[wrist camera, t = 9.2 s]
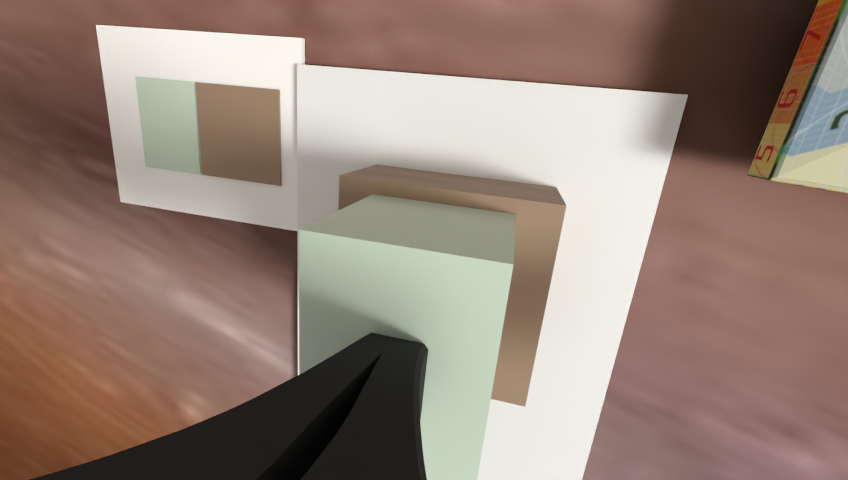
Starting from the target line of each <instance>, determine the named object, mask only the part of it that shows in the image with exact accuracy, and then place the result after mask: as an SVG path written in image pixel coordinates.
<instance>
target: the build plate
mask: <svg viewBox="0 0 848 480" xmlns="http://www.w3.org/2000/svg"><path fill="white" fill-rule="evenodd" d="M687 97H688V95H685V94H672V93H659V92H646V91H634V90H621V89H608V88H595V87H583V86H570V85H557V84H544V83H531V82H519V81H506V80H493V79H480V78H467V77H455V76H442V75H429V74H416V73H404V72H391V71H378V70H365V69H352V68H340V67H327V66H314V65H301V64H297V249H298V375H299V229H301V228H303V227H305V226H308V225H310V224H312V223H314V222H316V221H318V220H320V219H322V218H324V217H326V216H328V215H330V214H333V213H335V212H337V211H338V206H339V175H342V174H345V173H349V172H352V171H356V170H359V169H363V168H366V167H370V166H373V165H384V166H392V167H400V168H408V169H415V170H423V171H431V172H439V173H447V174H455V175H463V176H471V177H479V178H487V179H495V180H503V181H511V182H519V183H527V184H535V185H543V186H551V187H556V188H557V189H558V191H559V193H560V195H561V196H562V198H563V200H564V202H565V204H566V205H567V206H566V211H565V215H564V220H563V225H562V230H561V235H560V240H559V245H558V249H557V254H556V259H555V264H554V269H553V274H552V279H551V284H550V288H549V293H548V298H547V303H546V308H545V313H544V318H543V323H542V327H541V332H540V337H539V342H538V347H537V352H536V357H535V361H534V366H533V371H532V376H531V381H530V386H529V391H528V396H527V400H526V405H525V407H524V406H520V405H515V404H511V403H507V402H502V401H498V400H494V399H491V401H490V406H489V412H488V418H487V424H486V430H485V436H484V442H483V448H482V453H481V459H480V465H479V471H478V477H477V480H582V478H583V474H584V470H585V467H586V463H587V460H588V456H589V452H590V449H591V445H592V441H593V438H594V434H595V431H596V427H597V423H598V420H599V416H600V412H601V409H602V405H603V402H604V398H605V394H606V391H607V387H608V383H609V380H610V376H611V373H612V369H613V365H614V362H615V358H616V354H617V351H618V347H619V343H620V340H621V336H622V333H623V329H624V325H625V322H626V318H627V314H628V311H629V307H630V304H631V300H632V296H633V293H634V289H635V285H636V282H637V278H638V275H639V271H640V267H641V264H642V260H643V256H644V253H645V249H646V246H647V242H648V238H649V235H650V231H651V227H652V224H653V220H654V217H655V213H656V209H657V206H658V202H659V198H660V195H661V191H662V188H663V184H664V180H665V177H666V173H667V169H668V166H669V162H670V159H671V155H672V151H673V148H674V144H675V140H676V137H677V133H678V129H679V126H680V122H681V119H682V115H683V111H684V108H685V104H686V100H687Z"/></svg>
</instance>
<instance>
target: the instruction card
mask: <svg viewBox="0 0 848 480" xmlns="http://www.w3.org/2000/svg"><path fill="white" fill-rule="evenodd" d="M96 30H97V37H98V44H99V51H100V59H101V66H102V73H103V80H104V87H105V95H106V102H107V109H108V116H109V123H110V130H111V138H112V145H113V152H114V159H115V166H116V174H117V181H118V188H119V195H120V202H123V203H130V204H136V205H142V206H148V207H154V208H160V209H166V210H172V211H178V212H184V213H190V214H196V215H202V216H208V217H214V218H220V219H226V220H232V221H238V222H244V223H250V224H256V225H262V226H268V227H274V228H280V229H286V230H292V231H297V64H301V65H305V39H303V38H293V37H277V36H262V35H246V34H231V33H215V32H200V31H184V30H168V29H153V28H137V27H122V26H106V25H96Z"/></svg>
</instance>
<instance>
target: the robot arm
mask: <svg viewBox="0 0 848 480" xmlns="http://www.w3.org/2000/svg"><path fill="white" fill-rule="evenodd" d="M427 356H428V348H427V347H426V346H425V344H423V343H419V342H414V341H409V340H405V339H400V338H395V337H390V336H386V335H381V334H376V333H369V334H368V335H366V336H364V337H362V338H361V339H359V340H357V341H356V342H354V343H352V344H351V345H349V346H347V347H346V348H344V349H342V350H341V351H339V352H337V353H336V354H334V355H333V356H331V357H329V358H327V359H326V360H324V361H322V362H321V363H319V364H317V365H315V366H314V367H312V368H310V369H309V370H307V371H305V372H303V373H302V374H300V375H298V376H296V377H294V378H292V379H290V380H288V381H286V382H284V383H283V384H281V385H279V386H277V387H275V388H273V389H271V390H269V391H267V392H265V393H263V394H261V395H260V396H258V397H256V398H254V399H252V400H250V401H247V402H245V403H243V404H241V405H239V406H237V407H235V408H232V409H230V410H228V411H226V412H223V413H221V414H219V415H216V416H214V417H212V418H209V419H207V420H204V421H202V422H200V423H197V424H195V425H192V426H190V427H187V428H185V429H182V430H180V431H177V432H174V433H171V434H169V435H166V436H163V437H160V438H157V439H155V440H152V441H149V442H146V443H143V444H141V445H138V446H135V447H132V448H129V449H127V450H124V451H121V452H118V453H115V454H113V455H110V456H107V457H103V458H100V459H97V460H94V461H91V462H88V463H84V464H81V465H78V466H75V467H71V468H68V469H65V470H62V471H58V472H55V473H51V474H48V475H44V476H41V477H37V478H34V479H30V480H427V478H426V471H425V464H424V456H423V448H422V437H421V426H420V418H421V411H422V402H423V393H424V383H425V374H426V365H427Z"/></svg>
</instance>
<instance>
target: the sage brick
mask: <svg viewBox="0 0 848 480" xmlns="http://www.w3.org/2000/svg"><path fill="white" fill-rule="evenodd" d="M515 227H516V214H511V213H504V212H497V211H489V210H482V209H475V208H468V207H460V206H453V205H446V204H439V203H432V202H424V201H417V200H410V199H403V198H396V197H388V196H381V195H374V194H372V195H370V196H368V197H366V198H364V199H362V200H360V201H358V202H355V203H353V204H351V205H349V206H347V207H345V208H343V209H341V210H339V211H337V212H335V213H333V214H330V215H328V216H326V217H324V218H322V219H320V220H318V221H316V222H314V223H312V224H310V225H308V226H305V227H303V228H301V229H299V375H300V374H302V373H303V372H305V371H307V370H309V369H310V368H312V367H314V366H315V365H317V364H319V363H321V362H322V361H324V360H326V359H327V358H329V357H331V356H333V355H334V354H336V353H337V352H339V351H341V350H342V349H344V348H346V347H347V346H349V345H351V344H352V343H354V342H356V341H357V340H359V339H361V338H362V337H364V336H366V335H368V334H369V333H376V334H381V335H386V336H390V337H395V338H400V339H405V340H409V341H414V342H419V343H423V344H425V346H426V347H427V348H428V356H427V365H426V374H425V383H424V393H423V402H422V411H421V418H420V426H421V437H422V448H423V456H424V464H425V471H426V478H427V480H477V477H478V471H479V465H480V459H481V453H482V448H483V442H484V436H485V430H486V424H487V418H488V412H489V406H490V401H491V395H492V389H493V383H494V377H495V371H496V365H497V359H498V353H499V348H500V342H501V336H502V330H503V324H504V318H505V312H506V306H507V300H508V295H509V289H510V283H511V277H512V271H513V265H514V247H515Z"/></svg>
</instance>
